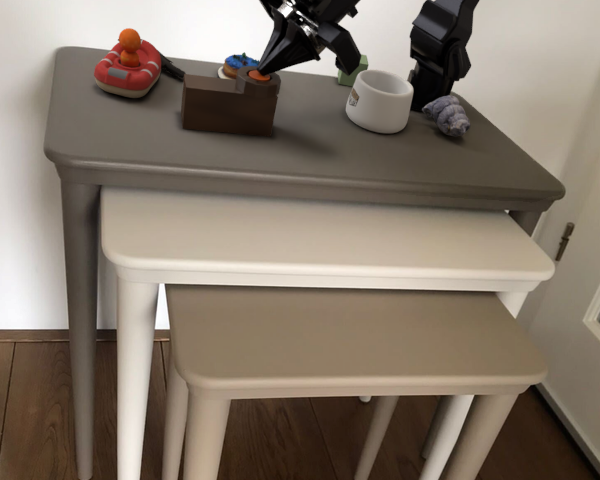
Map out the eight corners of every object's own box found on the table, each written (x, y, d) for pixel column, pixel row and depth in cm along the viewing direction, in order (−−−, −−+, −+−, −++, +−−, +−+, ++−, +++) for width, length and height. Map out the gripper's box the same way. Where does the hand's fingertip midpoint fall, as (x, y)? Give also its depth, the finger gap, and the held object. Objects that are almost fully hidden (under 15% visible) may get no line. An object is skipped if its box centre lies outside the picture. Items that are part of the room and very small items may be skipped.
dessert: (220, 83, 99) (225, 42, 98) (213, 92, 105) (216, 53, 104) (272, 94, 101) (277, 53, 101) (261, 101, 107) (266, 63, 107)
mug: (414, 137, 101) (427, 99, 97) (355, 133, 97) (366, 94, 93) (387, 100, 109) (398, 64, 105) (332, 95, 106) (341, 58, 101)
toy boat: (165, 75, 99) (170, 22, 94) (143, 106, 91) (146, 51, 86) (115, 61, 99) (117, 8, 94) (87, 92, 90) (88, 35, 85)
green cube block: (360, 78, 113) (366, 55, 110) (362, 88, 110) (368, 64, 107) (337, 74, 112) (343, 50, 110) (338, 83, 110) (344, 59, 107)
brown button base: (267, 120, 95) (277, 68, 90) (274, 140, 91) (284, 87, 86) (180, 111, 92) (184, 57, 87) (182, 131, 88) (187, 76, 83)
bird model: (110, 28, 99) (107, 46, 101) (182, 72, 97) (178, 89, 98) (124, 26, 101) (121, 43, 103) (195, 69, 99) (190, 85, 101)
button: (266, 84, 90) (268, 71, 89) (269, 93, 88) (271, 80, 87) (245, 81, 89) (247, 69, 88) (248, 91, 87) (250, 78, 86)
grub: (423, 119, 109) (454, 154, 103) (415, 95, 104) (446, 130, 98) (452, 101, 108) (484, 134, 102) (444, 76, 104) (478, 109, 98)
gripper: (276, -93, 84) (190, -1, 85) (368, -41, 74) (269, 63, 75) (312, -25, 93) (234, 57, 94) (398, 29, 83) (309, 120, 85)
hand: (259, 72), depth 87 cm, fingers closed, pressing on button
